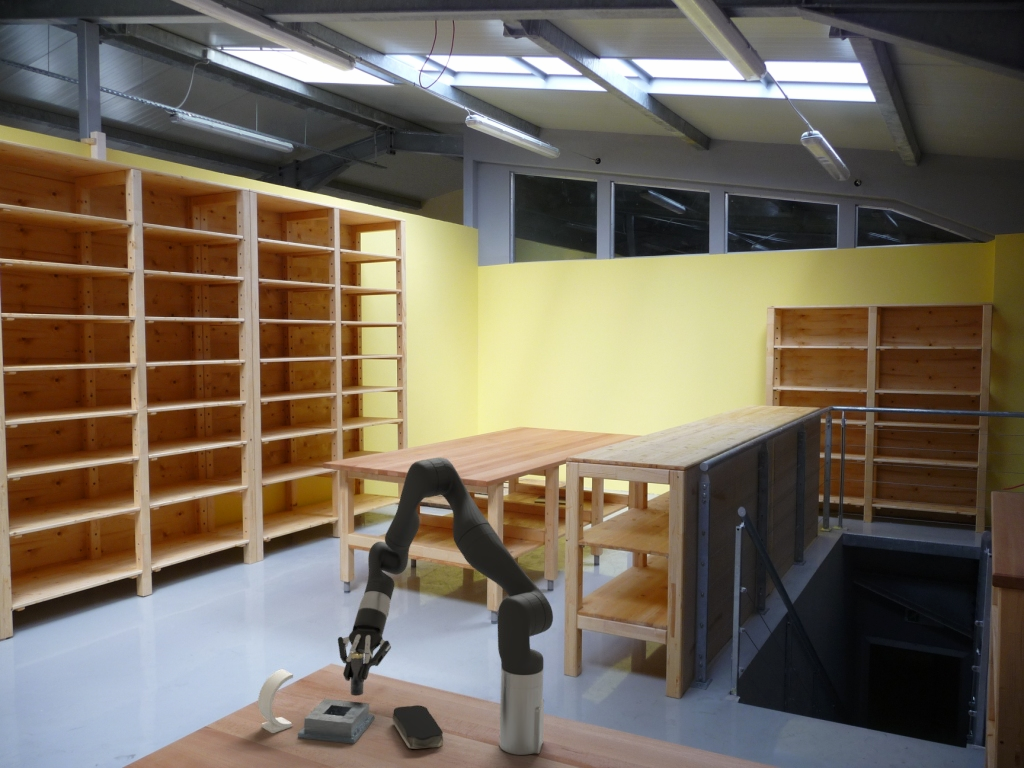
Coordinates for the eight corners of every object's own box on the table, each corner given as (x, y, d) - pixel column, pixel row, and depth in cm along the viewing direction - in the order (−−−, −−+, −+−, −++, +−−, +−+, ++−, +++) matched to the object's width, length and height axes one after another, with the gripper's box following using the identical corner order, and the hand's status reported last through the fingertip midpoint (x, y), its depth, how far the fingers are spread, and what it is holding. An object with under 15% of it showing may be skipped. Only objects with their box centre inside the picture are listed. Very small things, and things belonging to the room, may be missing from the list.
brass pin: (365, 691, 199) (365, 652, 199) (360, 696, 196) (361, 656, 196) (353, 690, 199) (353, 651, 199) (348, 695, 196) (349, 655, 196)
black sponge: (390, 723, 190) (390, 707, 190) (425, 718, 193) (425, 702, 193) (408, 755, 175) (408, 738, 175) (446, 749, 178) (446, 732, 178)
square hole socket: (374, 719, 192) (374, 701, 192) (353, 743, 179) (354, 725, 179) (321, 713, 194) (322, 696, 194) (297, 737, 181) (298, 719, 181)
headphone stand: (292, 726, 187) (293, 674, 186) (268, 735, 182) (269, 681, 182) (281, 720, 190) (282, 668, 189) (257, 728, 185) (258, 675, 185)
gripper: (342, 604, 206) (321, 670, 194) (395, 608, 203) (378, 675, 191) (350, 619, 211) (330, 684, 199) (402, 623, 209) (385, 689, 197)
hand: (354, 679), depth 195 cm, fingers closed on brass pin, 3 cm apart
